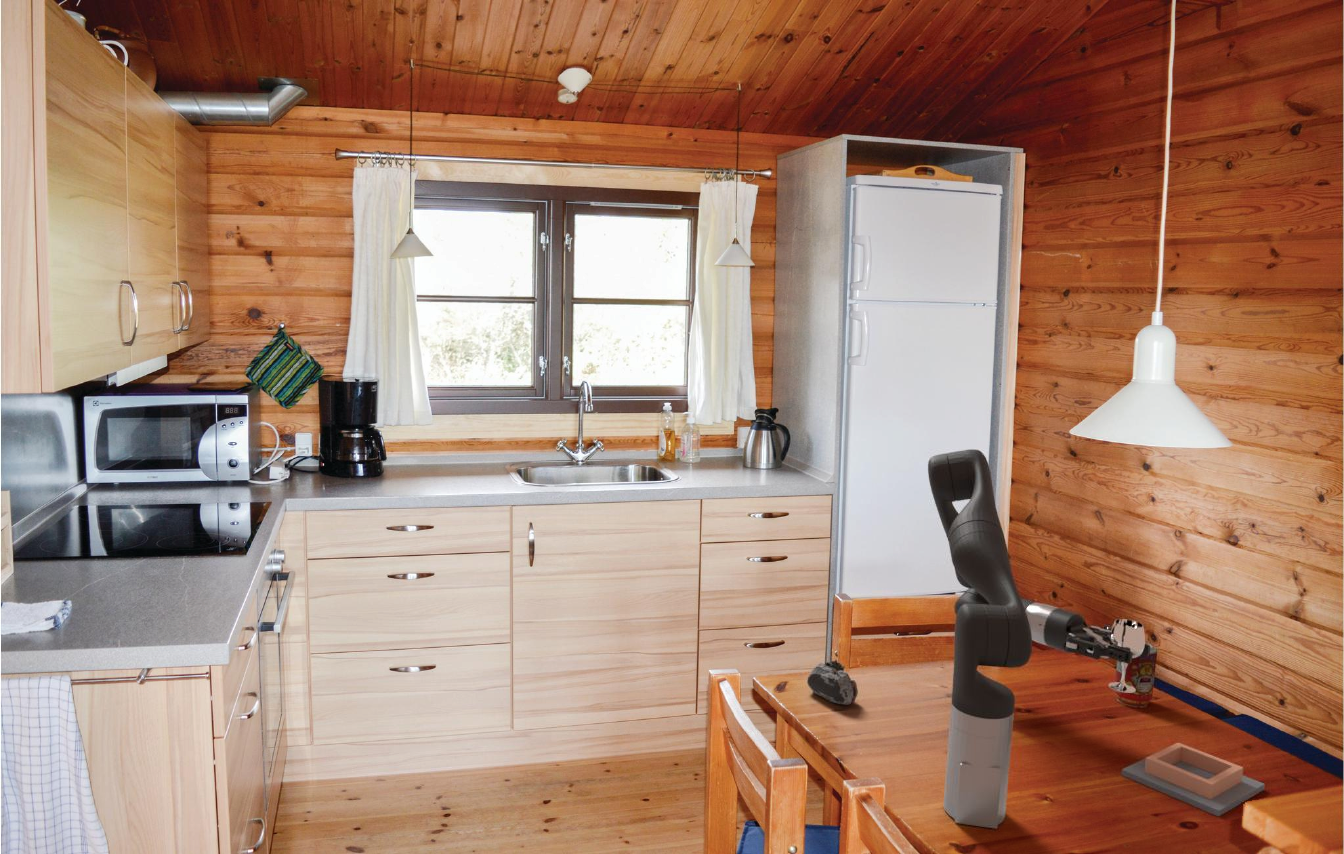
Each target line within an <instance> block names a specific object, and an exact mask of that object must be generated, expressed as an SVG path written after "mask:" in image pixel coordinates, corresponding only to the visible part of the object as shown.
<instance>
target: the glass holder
mask: <svg viewBox="0 0 1344 854" xmlns="http://www.w3.org/2000/svg"><path fill="white" fill-rule="evenodd" d="M1243 774H1244V767H1243V766H1240V765H1238V764H1236V763H1233V762H1230V761H1228V760H1225V759H1222V758H1220V757H1217V756H1214V755H1211V754H1209V753H1206V752H1204V751H1201V750H1200V749H1196V748H1193V747H1191V746H1189V745H1186V744H1183V743H1180V742H1176V743H1174V744H1173V745H1170V746H1167V747H1166V748H1164V749H1161V750H1159V751H1157V752H1155V753H1152V754H1151V755H1149V756H1147V757H1145V758H1143V759H1141V760H1139V761H1136V762H1134V763H1133V764H1130V765H1128V766H1127V767H1124V768H1122V769H1121V776H1122V777H1125V778H1128V779H1130V780H1132V781H1134V782H1138V784H1142V785H1144V786H1147V787H1148V788H1151V789H1154V790H1156V791H1158V792H1160V793H1163V794H1164V795H1167V796H1170V797H1172V798H1175V799H1176V800H1179V801H1181V802H1183V803H1186V804H1188V805H1190V806H1193V807H1195V808H1198V809H1199V810H1202V811H1205V812H1207V813H1209V814H1211V815H1213V816H1217V817H1221V816H1222V815H1224V814H1225V813H1227V812H1229V811H1230V810H1233V809H1234V808H1235V807H1237V806H1239V805H1241V804H1242V803H1244V802H1246V801H1247V800H1249V799H1251V798H1252V797H1254V796H1256V795H1257V794H1260V793H1261V792H1262V791H1264V790H1265V788H1266V787H1265V786H1266V784H1265V783H1264V782H1260V781H1259V780H1256V779H1253V778H1250V777H1248V776H1246V775H1243ZM1241 802H1242V803H1241Z"/></svg>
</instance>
